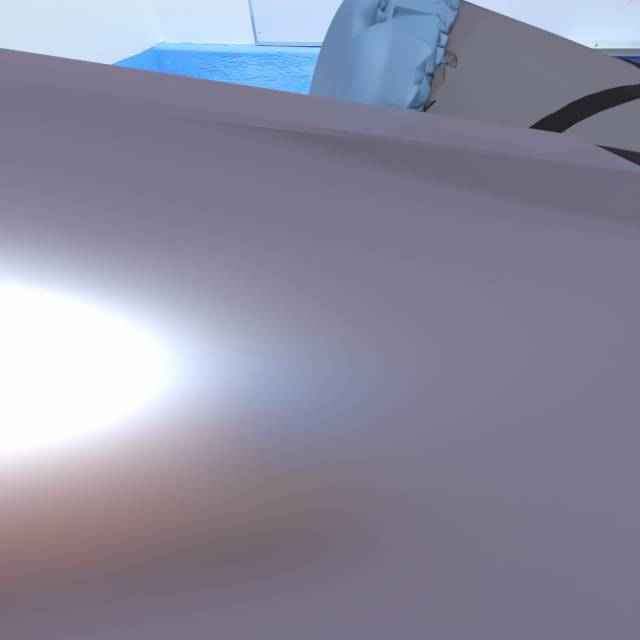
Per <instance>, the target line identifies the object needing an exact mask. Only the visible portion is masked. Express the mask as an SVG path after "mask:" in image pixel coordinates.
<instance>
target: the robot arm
mask: <svg viewBox="0 0 640 640" xmlns="http://www.w3.org/2000/svg"><path fill="white" fill-rule="evenodd" d="M0 640H640V60H633V59H628V58H620V57H615V56H613V55H610V54H608V53H605V52H603V51H600V50H598V49H595V48H592V47H590V46H587V45H585V44H582V43H579V42H577V41H574V40H571V39H569V38H566V37H564V36H561V35H558V34H556V33H554V32H551V31H549V30H546V29H543V28H540V27H538V26H535V25H532V24H530V23H527V22H524V21H521V20H519V19H516V18H514V17H511V16H508V15H505V14H502V13H500V12H497V11H495V10H491V9H490V8H486V7H483V6H481V5H479V4H475V3H474V2H473V3H472V2H470V1H467V0H342V2H341V4H340V5H339V6H338V8H337V10H336V11H335V14H334V15H333V17H332V20H331V22H330V23H329V26H328V28H327V31H326V33H325V35H324V38H323V41H322V43H321V47H320V50H319V53H318V56H317V59H316V62H315V66H314V69H313V74H312V77H311V83H310V86H309V90H308V94H307V93H306V94H305V93H300V92H293V91H286V90H279V89H273V88H267V87H262V86H261V87H259V86H254V85H248V84H241V83H234V82H227V81H220V80H214V79H208V78H202V77H196V76H195V77H194V76H188V75H181V74H175V73H167V72H162V71H155V70H148V69H142V68H135V67H129V66H123V65H115V64H110V63H109V64H108V63H102V62H96V61H89V60H83V59H76V58H69V57H64V56H56V55H51V54H43V53H36V52H32V51H31V52H30V51H23V50H17V49H10V48H5V47H4V48H3V47H0Z"/></svg>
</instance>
